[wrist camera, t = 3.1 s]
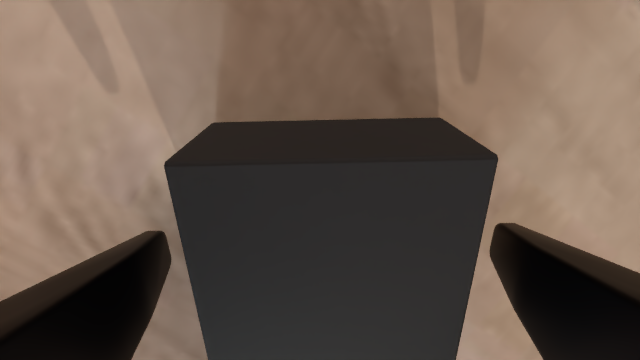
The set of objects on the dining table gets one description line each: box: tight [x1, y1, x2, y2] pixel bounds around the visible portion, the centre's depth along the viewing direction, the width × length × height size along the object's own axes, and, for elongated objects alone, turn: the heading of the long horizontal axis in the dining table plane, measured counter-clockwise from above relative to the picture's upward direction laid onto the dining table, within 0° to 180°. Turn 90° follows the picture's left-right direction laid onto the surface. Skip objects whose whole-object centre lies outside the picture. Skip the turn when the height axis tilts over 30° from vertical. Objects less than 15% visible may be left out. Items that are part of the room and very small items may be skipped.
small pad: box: [164, 118, 498, 360], centre depth 8 cm, size 6×6×3 cm
